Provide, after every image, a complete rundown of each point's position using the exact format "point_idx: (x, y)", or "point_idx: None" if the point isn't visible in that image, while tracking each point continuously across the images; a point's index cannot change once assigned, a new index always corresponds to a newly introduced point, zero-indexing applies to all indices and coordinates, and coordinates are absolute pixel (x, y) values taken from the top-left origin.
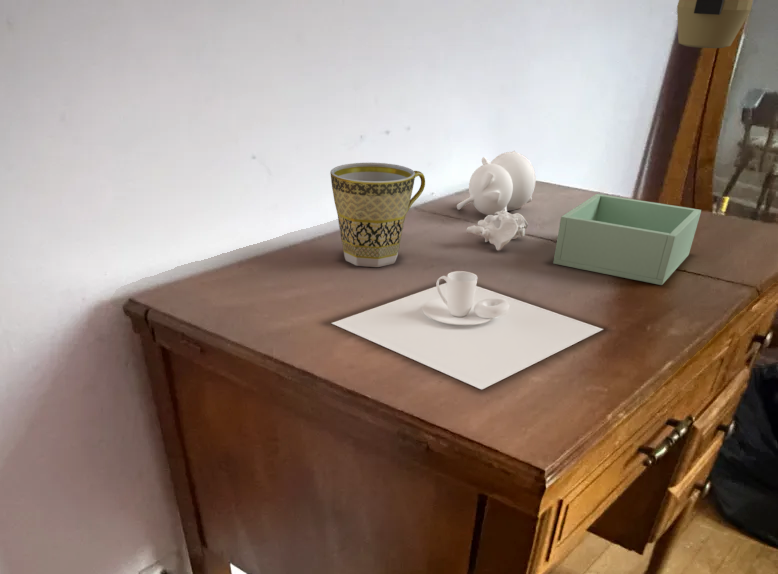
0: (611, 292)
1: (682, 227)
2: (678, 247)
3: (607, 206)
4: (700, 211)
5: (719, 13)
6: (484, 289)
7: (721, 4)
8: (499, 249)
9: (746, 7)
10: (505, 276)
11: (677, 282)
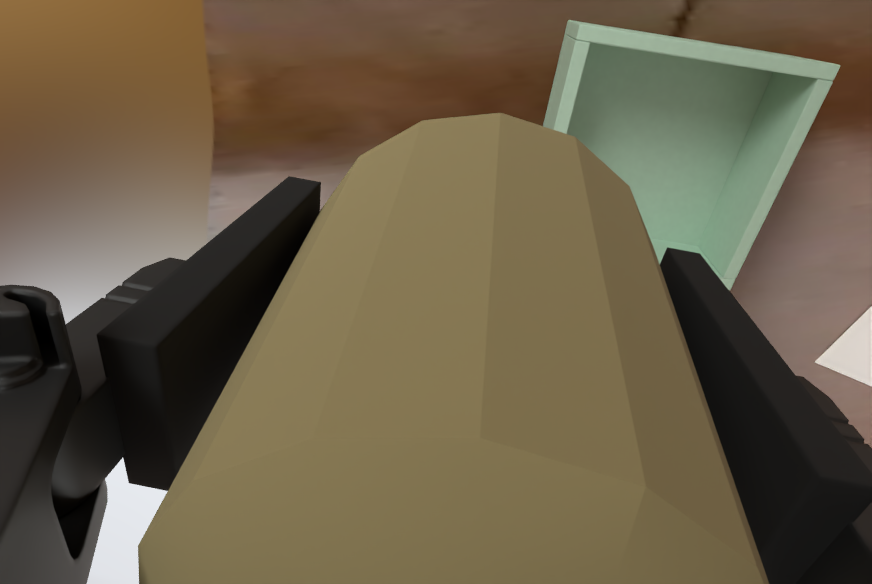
0: (844, 141)
1: (760, 55)
2: (742, 48)
3: None
4: (591, 25)
5: (691, 253)
6: (859, 321)
7: (710, 271)
8: None
9: (577, 142)
10: (785, 306)
11: (760, 25)
